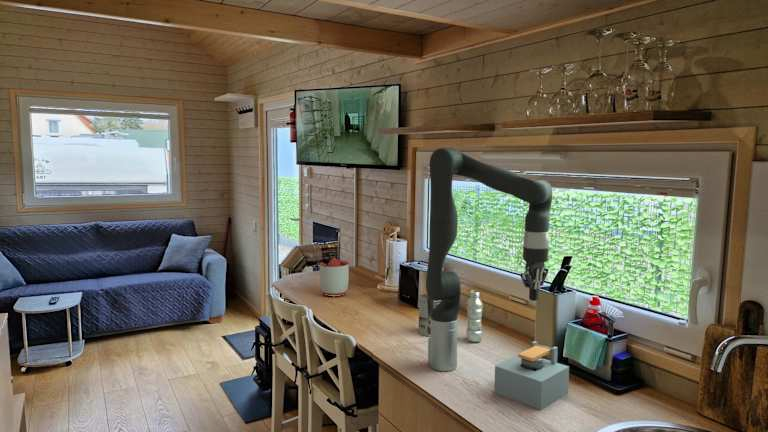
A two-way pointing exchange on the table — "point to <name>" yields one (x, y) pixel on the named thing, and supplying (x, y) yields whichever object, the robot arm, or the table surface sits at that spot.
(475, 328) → the plastic bottle
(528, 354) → the tan flat wooden board
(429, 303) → the coffee box
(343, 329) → the table surface
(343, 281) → the pale green pot
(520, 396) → the block
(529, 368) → the pin
